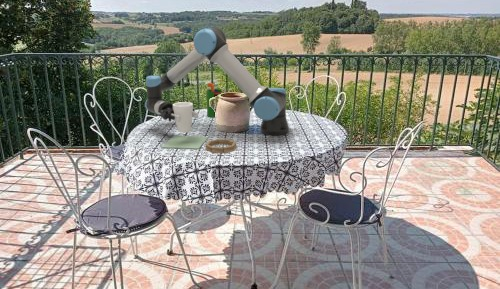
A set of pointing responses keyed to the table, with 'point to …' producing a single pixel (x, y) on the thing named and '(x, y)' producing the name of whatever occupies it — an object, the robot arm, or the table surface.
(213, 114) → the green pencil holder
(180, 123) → the foam cup
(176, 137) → the mat
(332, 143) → the table surface
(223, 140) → the collar
